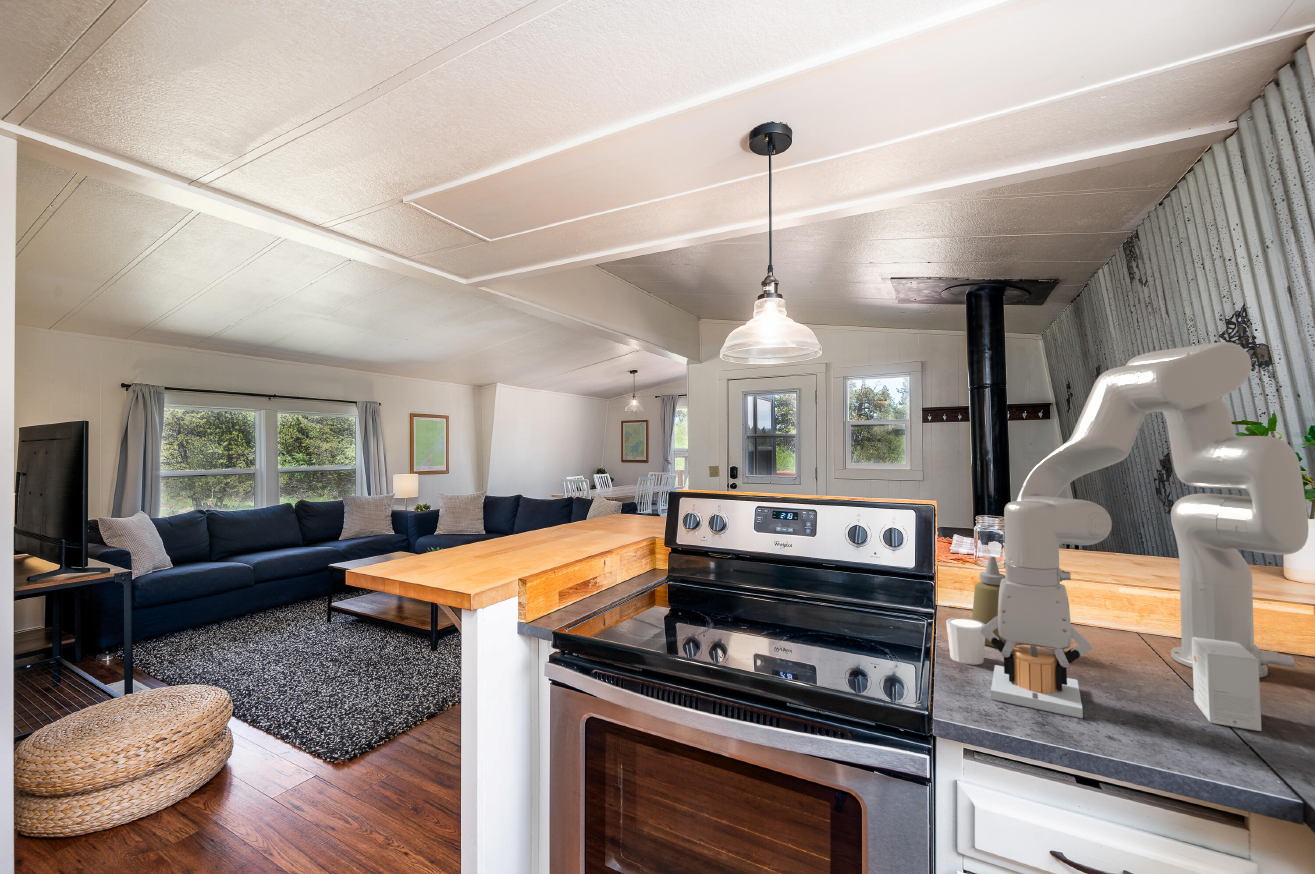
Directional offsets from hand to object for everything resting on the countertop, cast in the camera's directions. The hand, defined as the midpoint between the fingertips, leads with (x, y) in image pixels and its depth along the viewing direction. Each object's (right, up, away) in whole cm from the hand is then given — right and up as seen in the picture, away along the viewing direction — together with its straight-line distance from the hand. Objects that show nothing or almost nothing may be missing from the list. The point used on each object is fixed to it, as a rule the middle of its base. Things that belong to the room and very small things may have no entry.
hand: (1034, 682), depth 93 cm
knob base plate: (0, -2, 0) cm, 2 cm away
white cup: (-3, -2, +15) cm, 16 cm away
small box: (+23, -2, -8) cm, 25 cm away
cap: (0, 0, 0) cm, 0 cm away
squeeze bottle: (+7, -2, +23) cm, 24 cm away
